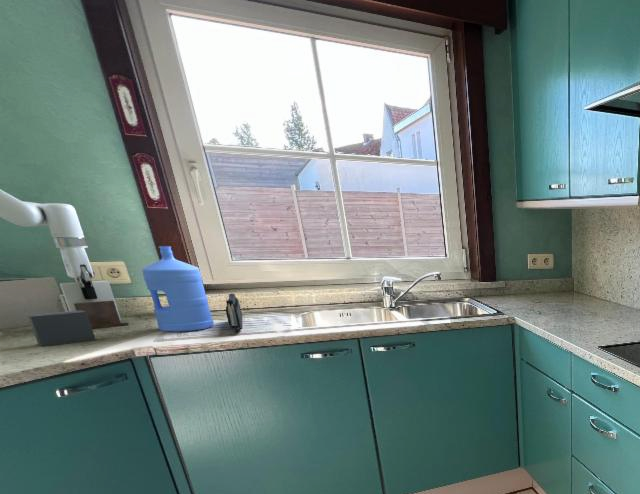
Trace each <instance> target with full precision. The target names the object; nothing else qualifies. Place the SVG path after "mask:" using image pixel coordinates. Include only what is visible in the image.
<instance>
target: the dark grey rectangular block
mask: <svg viewBox="0 0 640 494" xmlns="http://www.w3.org/2000/svg"><path fill="white" fill-rule="evenodd" d="M26 317H27V319H28V322H29V325H30V327H31V330H32V332H33V335H34V337H35V339H36V342H37V345H39V346H41V347H51V346H59V345H66V344H67V345H68V344H75V343H84V342H91V341H92V342H93V341H96V340H97V338H96V336H95V333H94V329H92V327H91V324H90V321H89V319H88V316H87V313H86V312H85V311H82V310H79V311H67V312H65V311H55V312H45V313H31V314H26Z"/></svg>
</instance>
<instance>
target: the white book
mask: <svg viewBox="0 0 640 494" xmlns="http://www.w3.org/2000/svg"><path fill="white" fill-rule="evenodd" d="M92 284H93V287H94V289H95V292H96V295H97V299H85V298H84V296H83V293H82V290H81V288H82V286H81V283H80V282H77V281H75V282H61V283H60V282H59V286H60V289H61V293H62V295H64V297H65V300H66V303H67V305H68V308H69V311H76V309H75V306H74V303H86V302H99V301H114V304H115V307H116V310H117V313H118V316H119V319H120V321H121V320H122V318H121V314H120V312H119V309H118V305H117V304H116V300H115V297H114V293H113V290H112V287H111V285H110V282H109V281H108V280H99V281H97V280H96V281H92Z"/></svg>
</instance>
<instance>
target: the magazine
mask: <svg viewBox="0 0 640 494" xmlns="http://www.w3.org/2000/svg"><path fill="white" fill-rule="evenodd" d="M225 313H226V318H227V323H228V327H229V329H231V330H234V333H236V334H237V333H240V331H239V330H240V329H242V328H243V327H244V326H243V325H244V324H243V323H244V322H243V313H242V308H241V304H240V301H239V299H238V297H236V294H235V293H229V294H228V298H227V300H226V306H225Z"/></svg>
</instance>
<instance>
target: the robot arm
mask: <svg viewBox="0 0 640 494" xmlns="http://www.w3.org/2000/svg"><path fill="white" fill-rule="evenodd" d="M0 218H2V219H3V220H4V221H7V222H10V223H11V224H14V225H15V226H16V225H17V226H19V227H23V228H34V227H44V226H48V229H49V231H50V234H51V237H52V240H53V242H54V245H55V247H56V249H59V251H60V254H61V258H62V262H63V265H64V268H65V271H66V275H67V276H68V277H69V278H72V279H75V282H80V283H81V286H82V288H81V290H82V293H83V296H84V298H85V299H97V295H96V292H95V289H94V287H93V284H92V282H93V281H92V278H94V277H95V276H94V271H93V268H92V264H91V262H90V259H89V257H88V254H87V251H86V249H88V248H89V246H88V243H87V240H86V238H85V235H84V231H83V228H82V225H81V223H80V219H79V216H78V214H77V211H76V208H75V207H74V206H73V205H71V204H69V203H59V202H58V203H57V202H53V203H52V202H47V203H39V202H33V201H32V202H31V201H22V200H21V199H19V198H17V197H15V196H13V195H11V194H9V193H8V192H6V191H4V190H2V189H0Z"/></svg>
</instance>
